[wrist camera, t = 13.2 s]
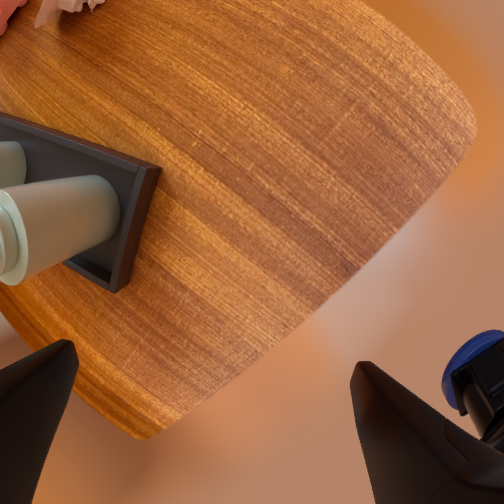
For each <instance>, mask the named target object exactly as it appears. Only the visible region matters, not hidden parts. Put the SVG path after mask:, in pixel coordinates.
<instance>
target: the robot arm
mask: <svg viewBox="0 0 504 504" xmlns="http://www.w3.org/2000/svg"><path fill="white" fill-rule="evenodd" d="M78 367H79V359H78V356H77V353H76V349H75V346H74V343H73V342H72V341H70V340H66V339H60V340H58V341H56V342H54V343H52V344H50V345H48V346H46V347H44V348H42V349H40V350H38V351H36V352H35V353H33V354H31V355H29V356H27V357H25V358H23V359H21V360H19V361H17V362H15V363H13V364H11V365H9V366H7V367H5V368H3V369H1V370H0V504H32V502H31V501H32V500H33V497H34V494H35V490H36V487H37V484H38V481H39V478H40V475H41V472H42V469H43V466H44V463H45V460H46V457H47V454H48V452H49V449H50V446H51V443H52V441H53V438H54V435H55V433H56V430H57V428H58V425H59V422H60V420H61V418H62V415H63V413H64V410H65V408H66V405H67V403H68V399H69V396H70V393H71V390H72V386H73V383H74V380H75V377H76V374H77V371H78ZM455 375H456V376H455ZM450 380H451V384H452V388H453V391H454V395H455V399H456V403H457V407H458V411H459V414H460V415H461V416H465V415H467V414H468V413H469V415H470V417H471V419H472V421H473V423H474V425H475V427H476V429H477V431H478V434H479V436H480V438H481V439H480V440H478V439H477V438H475V437H473V436H472V435H470V434H469V433H467V432H465V431H464V430H463V429H461V428H460V427H458V426H457V425H455V424H454V423H453V422H451V421H450V420H448V419H447V418H446V419H445V417H444V416H443V415H441V414H440V413H439V412H438V411H436V410H435V409H433V408H432V407H431V406H429V405H428V404H427V403H425V402H424V401H423V400H421V399H420V398H418V397H417V396H416V395H415V394H413V393H412V392H410V391H409V390H408V389H407V388H405V387H404V386H403V385H401V384H400V383H399V382H397V381H396V380H395V379H393V378H392V377H390V376H389V375H388V374H387V373H385V372H384V371H383V370H381V369H380V368H379V367H377V366H376V365H375V364H373V363H372V362H370V361H359V362H358V363H357V364H356V366H355V369H354V372H353V375H352V378H351V381H350V390H351V396H352V402H353V408H354V416H355V422H356V428H357V431H358V436H359V440H360V443H361V447H362V451H363V454H364V458H365V462H366V466H367V470H368V474H369V478H370V482H371V486H372V490H373V495H374V499H375V503H376V504H504V337H503V338H501V339H500V340H499V341H497V342H496V343H494V344H493V345H492V346H490V347H489V348H487V349H486V350H484V351H483V352H482V353H480V354H479V355H477V356H476V357H474V358H473V359H471V360H469V361H468V362H466V363H465V364H463V365H462V366H460V367H458V368H457V369H455V370H454V371H452V372H451V374H450Z"/></svg>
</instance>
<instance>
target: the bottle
mask: <svg viewBox="0 0 504 504" xmlns="http://www.w3.org/2000/svg"><path fill="white" fill-rule="evenodd" d="M119 220H120V203H119V199H118V196H117V194H116V192H115V190H114V188H113V186H112V185H111V184H110V183H109V182H108V181H107V180H106V179H104V178H103V177H101V176H98V175H83V176H75V177H67V178H59V179H52V180H46V181H39V182H33V183H27V184H21V185H15V186H9V187H4V188H0V281H1V282H3V283H5V284H7V285H11V286H14V285H17V284H19V283H21V282H23V281H25V280H27V279H29V278H31V277H33V276H35V275H37V274H39V273H41V272H43V271H45V270H47V269H49V268H51V267H53V266H55V265H57V264H59V263H61V262H63V261H65V260H67V259H69V258H71V257H73V256H75V255H78V254H80V253H82V252H84V251H86V250H88V249H90V248H93V247H95V246H97V245H99V244H101V243H104V242H106V241H107V240H109V239H110V238H111V237H112V236H113V235H114V233H115V231H116V229H117V227H118V224H119Z"/></svg>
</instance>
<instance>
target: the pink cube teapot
mask: <svg viewBox="0 0 504 504" xmlns="http://www.w3.org/2000/svg"><path fill="white" fill-rule="evenodd" d="M27 1H28V0H0V35H2V34H3V33H4V32H5V30H6V28H7V22H6V21H7V20H8V18H9V17H10V16H11V14H12V13H13V12H14V10H15V9H16V8H17V6H20V7H22V6H23V5H24V4H25V3H26V2H27Z"/></svg>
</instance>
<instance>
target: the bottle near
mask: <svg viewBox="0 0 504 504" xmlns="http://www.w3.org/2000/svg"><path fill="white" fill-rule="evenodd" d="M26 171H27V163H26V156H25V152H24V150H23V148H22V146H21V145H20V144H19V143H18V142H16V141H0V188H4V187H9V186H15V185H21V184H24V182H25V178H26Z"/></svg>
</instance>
